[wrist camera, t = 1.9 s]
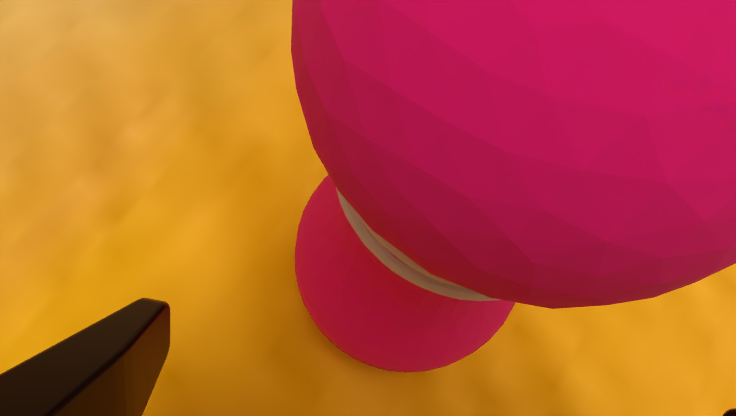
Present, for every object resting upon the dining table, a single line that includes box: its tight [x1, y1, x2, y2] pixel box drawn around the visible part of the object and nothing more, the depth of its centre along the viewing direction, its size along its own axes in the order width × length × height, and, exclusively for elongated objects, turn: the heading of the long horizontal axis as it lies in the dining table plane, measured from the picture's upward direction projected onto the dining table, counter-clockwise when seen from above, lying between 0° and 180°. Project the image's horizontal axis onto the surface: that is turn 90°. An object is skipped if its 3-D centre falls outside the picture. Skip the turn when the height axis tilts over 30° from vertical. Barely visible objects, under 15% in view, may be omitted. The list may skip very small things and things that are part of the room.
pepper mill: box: [291, 0, 736, 372], centre depth 12 cm, size 7×7×20 cm
